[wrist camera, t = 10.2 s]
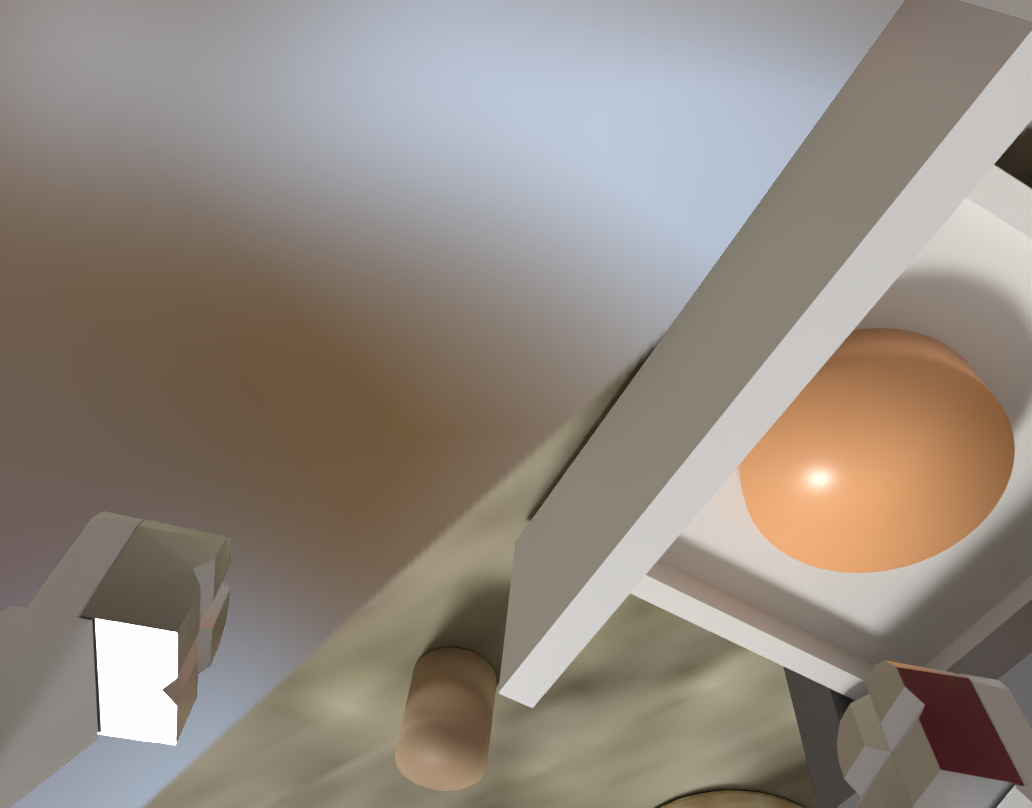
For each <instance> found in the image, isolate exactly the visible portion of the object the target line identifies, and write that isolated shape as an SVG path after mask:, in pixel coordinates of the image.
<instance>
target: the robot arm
mask: <svg viewBox="0 0 1032 808" xmlns="http://www.w3.org/2000/svg"><path fill="white" fill-rule="evenodd" d="M231 555H232V541H231V539H229V537H226V536H221V535H217V534H212V533H208V532H203V531H198V530H193V529H189V528H184V527H179V526H175V525H170V524H165V523H161V522H156V521H151V520H141V519H136V518H132V517H127V516H123V515H118V514H114V513H109V512H105V511H103V512H101V513H100V514H98V515H96V516H95V517H93V518H92V519H91V520H90V522H89V523H88V525H87V526H86V527H85V529H84V530H83V531H82V533H81V534H80V536H79V537H78V538H77V540H76V541H75V542H74V544H73V545H72V547H71V548H70V550H69V551H68V552H67V553H66V555H65V556H64V558H63V559H62V561H61V562H60V563H59V565H58V566H57V567H56V569H55V570H54V572H53V573H52V574H51V576H50V577H49V578H48V580H47V581H46V583H45V584H44V585H43V587H42V588H41V589H40V591H39V592H38V594H37V595H36V597H35V598H34V599H33V601H32V602H31V603H30V605H29V606H28V607H27V608H22V607H16V606H13V607H11V608H8V609H6V610H4V611H2V612H0V808H10V807H11V806H12V805H13V804H15V803H16V802H17V801H19V800H20V799H21V798H23V797H24V796H25V795H26V794H28V793H29V792H30V791H32V790H33V789H34V788H36V787H37V786H38V785H39V784H41V783H42V782H43V781H45V780H46V779H47V778H48V777H50V776H51V775H52V774H54V773H55V772H56V771H57V770H58V769H60V768H61V767H63V766H64V765H65V764H66V763H68V762H69V761H70V760H71V759H73V758H74V757H75V756H77V755H78V754H79V753H80V752H82V751H83V750H84V749H86V748H87V747H88V746H89V745H91V744H92V743H93V742H95V741H96V740H97V739H98V734H101V735H109V736H116V737H123V738H130V739H137V740H144V741H152V742H158V743H165V744H173V745H176V743H177V741H178V738H179V736H180V734H181V731H182V729H183V727H184V725H185V722H186V720H187V718H188V716H189V713H190V711H191V709H192V706H193V704H194V702H195V700H196V697H197V682H198V674H199V673H201V672H202V671H204V670H205V669H207V668H208V667H210V665H211V663H212V661H213V658H214V656H215V653H216V651H217V649H218V646H219V643H220V639H221V636H222V632H223V629H224V626H225V622H226V617H227V611H228V605H229V591H230V589H229V588H228V586H227V585H226V584H225V582H224V581H223V579H224V577H225V575H226V573H227V570H228V568H229V566H230V564H231ZM865 682H866V686H867V689H868V692H869V694H867V695H865V696H863V697H862V698H860V699H858V700H856V701H854V702H852V703H850V704H849V706H848V708H847V710H846V712H845V713H844V715H843V717H842V719H841V721H840V725H839V731H838V738H837V751H838V760H839V764H840V767H841V770H842V774H843V777H844V779H845V780H846V781H847V782H848V783H849V785H850V786H851V787H852V788H853V789H854V790H855V791H856V792H857V793H858V794H859V795H860V796H861V798H860V800H859V802H858V804H857V807H856V808H1032V728H1031V727H1030V725H1029V723H1028V721H1027V720H1026V718H1025V716H1024V714H1023V712H1022V711H1021V709H1020V707H1019V705H1018V704H1017V702H1016V700H1015V698H1014V696H1013V695H1012V693H1011V691H1010V690H1009V689H1008V687H1006V686H1005V685H1004V684H1003V683H1002V682H1000V681H999V680H995V679H989V678H983V677H977V676H972V675H966V674H956V673H953V672H947V671H941V670H936V669H930V668H925V667H919V666H914V665H908V664H902V663H897V662H891V661H886V660H883V661H881V662H880V663H878V664H877V665H875V666H874V667H873V668H872V670H871V671H870V673H869V674H868V676H867V677H866V679H865Z"/></svg>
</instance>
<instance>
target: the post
mask: <svg viewBox="0 0 1032 808" xmlns="http://www.w3.org/2000/svg"><path fill="white" fill-rule="evenodd" d="M496 682H497V678H496V674H495V671H494V669H493V667H492V666H491V665H490V663H489V662H488V661H487V660H485V659H484V658H483V657H481V656H480V655H478V654H476V653H474V652H472V651H469V650H466V649H461V648H453V647H447V648H440V649H435V650H432V651H430V652H428V653H426V654H425V655H423V656H422V657H421V658H420V659H419V660H418V661H417V663H416V665H415V668H414V672H413V676H412V681H411V685H410V689H409V694H408V698H407V703H406V707H405V711H404V716H403V720H402V725H401V729H400V734H399V738H398V742H397V747H396V751H395V761H396V764H397V766H398V768H399V770H400V771H401V772H402V773H403V774H404V775H405V776H406V777H407V778H408V779H410V780H411V781H413V782H414V783H416V784H418V785H421V786H423V787H426V788H430V789H434V790H442V791H452V790H460V789H464V788H467V787H469V786H471V785H473V784H475V783H476V782H478V781H479V780H480V779H481V778H482V777H483V775H484V773H485V771H486V767H487V759H488V750H489V742H490V733H491V725H492V716H493V708H494V700H495V691H496Z"/></svg>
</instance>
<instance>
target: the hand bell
mask: <svg viewBox="0 0 1032 808" xmlns="http://www.w3.org/2000/svg"><path fill="white" fill-rule="evenodd" d="M660 808H803V807H802V806H800V805H798V804H796V803H793V802H791V801H789V800H786V799H784V798H780V797H777V796H773V795H770V794H764V793H760V792H752V791H740V790H721V791H712V792H707V793H701V794H696V795H692V796H687V797H684V798H681V799H677V800H675V801H673V802H670V803H669V804H667V805H664V806H662V807H660Z"/></svg>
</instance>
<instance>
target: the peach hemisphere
mask: <svg viewBox="0 0 1032 808" xmlns="http://www.w3.org/2000/svg"><path fill="white" fill-rule="evenodd" d="M1014 454H1015V444H1014V435H1013V431H1012V428H1011V424H1010V421H1009V419H1008V417H1007V415H1006V413H1005V411H1004V409H1003V407H1002V406H1001V404H1000V403H999V402H998V400H997V399H996V398H995V396H994V395H993V394H992V393H991V391H990V390H989V389H988V387H987V386H986V385H985V384H984V382H983V381H982V380H981V379H980V377H979V376H978V375H977V374H976V372H975V371H974V370H973V368H972V367H971V366H970V365H969V363H968V362H967V361H965V360H964V359H963V358H962V357H961V356H960V355H959V354H958V353H957V352H955V351H954V350H952V349H951V348H950V347H948V346H947V345H945V344H943V343H941V342H939V341H937V340H935V339H933V338H931V337H928V336H925V335H922V334H919V333H916V332H910V331H905V330H900V329H887V328H873V329H860V330H854V331H852V332H851V333H850V335H849V336H848V337H847V338H846V339H845V340H844V342H843V343H842V344H841V345H840V346H839V348H838V349H837V350H836V351H835V352H834V353H833V355H832V356H831V357H830V358H829V359H828V361H827V362H826V363H825V364H824V365H823V366H822V368H821V369H820V370H819V371H818V372H817V373H816V375H815V376H814V377H813V378H812V379H811V381H810V382H809V383H808V384H807V385H806V386H805V388H804V389H803V390H802V391H801V392H800V393H799V395H798V396H797V397H796V398H795V399H794V401H793V402H792V403H791V404H790V405H789V406H788V408H787V409H786V410H785V411H784V412H783V414H782V415H781V416H780V417H779V418H778V419H777V421H776V422H775V423H774V424H773V425H772V426H771V428H770V429H769V430H768V431H767V432H766V434H765V435H764V436H763V437H762V438H761V439H760V441H759V442H758V443H757V444H756V445H755V447H754V448H753V449H752V450H751V451H750V452H749V454H748V455H747V456H746V457H745V458H744V459H743V461H742V462H741V463H740V464H739V465H738V467H737V472H738V476H739V480H740V484H741V488H742V492H743V496H744V500H745V503H746V507H747V510H748V512H749V514H750V516H751V519H752V521H753V523H754V524H755V525H756V527H757V528H758V530H759V531H760V533H761V534H762V535H763V536H764V537H765V538H766V539H767V540H768V541H769V542H770V543H771V544H772V545H773V546H775V547H776V548H777V549H779V550H780V551H781V552H783V553H785V554H786V555H788V556H790V557H791V558H793V559H795V560H798V561H800V562H802V563H805V564H807V565H810V566H814V567H817V568H820V569H825V570H830V571H836V572H847V573H871V572H880V571H888V570H892V569H897V568H902V567H905V566H909V565H912V564H915V563H918V562H921V561H923V560H926V559H928V558H931V557H933V556H935V555H937V554H939V553H941V552H943V551H945V550H947V549H948V548H950V547H952V546H953V545H955V544H956V543H958V542H959V541H961V540H962V539H964V538H965V537H966V536H967V535H969V534H970V533H971V532H972V531H973V530H975V529H976V528H977V527H978V526H979V525H980V524H981V523H982V522H983V521H984V520H985V519H986V518H987V517H988V515H989V514H990V513H991V511H992V510H993V509H994V508H995V506H996V505H997V503H998V502H999V500H1000V498H1001V497H1002V495H1003V493H1004V491H1005V489H1006V487H1007V484H1008V482H1009V479H1010V477H1011V473H1012V469H1013V464H1014Z"/></svg>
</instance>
